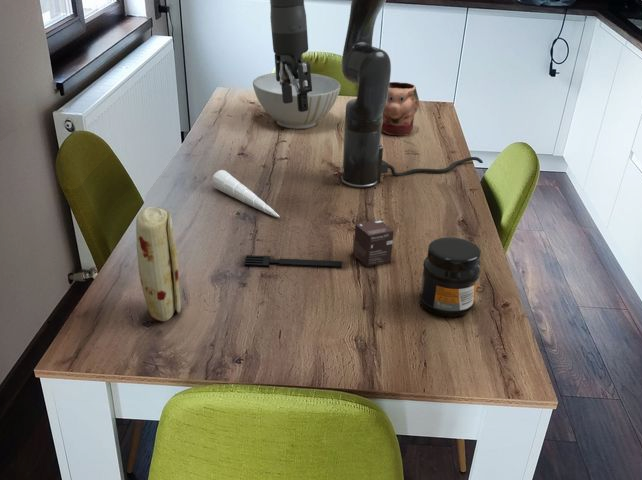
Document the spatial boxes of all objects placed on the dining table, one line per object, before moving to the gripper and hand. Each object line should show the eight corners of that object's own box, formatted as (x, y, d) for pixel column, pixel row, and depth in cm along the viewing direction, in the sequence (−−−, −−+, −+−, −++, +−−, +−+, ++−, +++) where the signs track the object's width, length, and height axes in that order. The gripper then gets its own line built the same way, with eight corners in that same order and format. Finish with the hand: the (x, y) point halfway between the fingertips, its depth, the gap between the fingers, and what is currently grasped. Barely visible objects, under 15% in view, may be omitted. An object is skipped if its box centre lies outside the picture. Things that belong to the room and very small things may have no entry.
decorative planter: (378, 118, 229) (382, 74, 221) (416, 121, 228) (421, 77, 220) (375, 138, 213) (378, 91, 205) (415, 141, 212) (420, 94, 204)
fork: (341, 261, 148) (342, 259, 147) (341, 270, 144) (342, 268, 144) (246, 257, 147) (246, 255, 147) (244, 266, 144) (244, 264, 144)
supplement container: (473, 322, 130) (483, 265, 123) (416, 315, 131) (423, 258, 124) (473, 294, 139) (484, 239, 132) (420, 287, 140) (427, 232, 133)
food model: (148, 299, 132) (136, 199, 120) (184, 299, 132) (175, 199, 121) (141, 328, 124) (127, 223, 112) (180, 327, 124) (170, 224, 113)
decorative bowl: (338, 138, 211) (340, 97, 204) (249, 134, 211) (248, 92, 204) (339, 112, 233) (340, 74, 226) (258, 108, 233) (257, 69, 226)
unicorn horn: (266, 223, 161) (266, 203, 158) (211, 189, 175) (210, 171, 173) (283, 218, 163) (283, 198, 161) (227, 185, 178) (226, 167, 175)
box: (366, 267, 146) (368, 235, 141) (352, 255, 150) (354, 223, 146) (391, 262, 148) (394, 230, 144) (377, 250, 152) (379, 218, 148)
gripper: (319, 30, 144) (324, 111, 153) (292, 21, 155) (297, 97, 164) (286, 35, 141) (292, 117, 150) (260, 26, 152) (268, 102, 161)
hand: (295, 107), depth 157 cm, fingers open, 8 cm apart
